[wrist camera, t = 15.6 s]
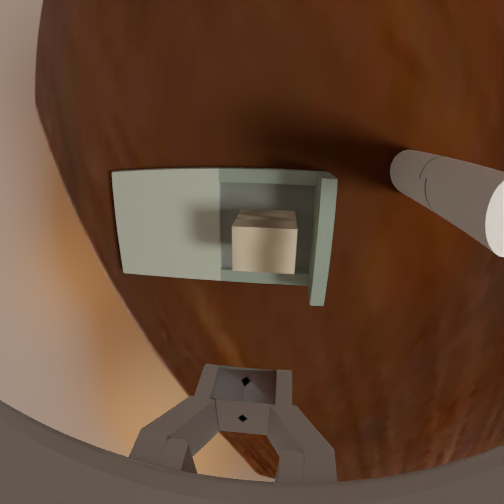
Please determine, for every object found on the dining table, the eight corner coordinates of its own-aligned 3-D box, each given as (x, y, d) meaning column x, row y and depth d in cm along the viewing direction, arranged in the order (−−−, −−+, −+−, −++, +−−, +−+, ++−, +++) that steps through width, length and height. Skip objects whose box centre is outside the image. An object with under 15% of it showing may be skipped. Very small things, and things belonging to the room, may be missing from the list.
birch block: (241, 245, 48) (232, 270, 39) (241, 208, 45) (231, 226, 37) (292, 248, 47) (294, 274, 39) (294, 210, 45) (297, 229, 36)
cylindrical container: (388, 193, 42) (478, 257, 19) (390, 147, 40) (490, 171, 17) (427, 195, 42) (528, 256, 19) (430, 152, 39) (540, 181, 16)
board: (127, 269, 52) (107, 288, 45) (116, 170, 45) (91, 178, 38) (318, 281, 49) (323, 305, 42) (328, 171, 42) (337, 179, 35)
